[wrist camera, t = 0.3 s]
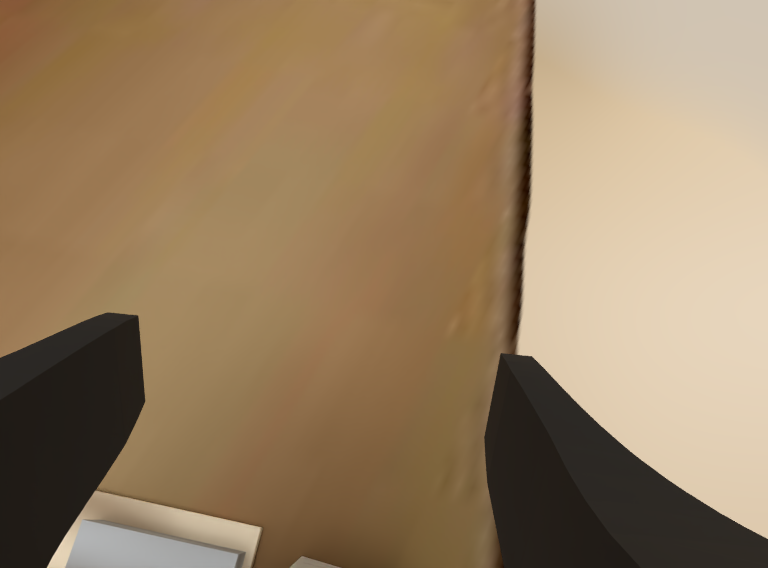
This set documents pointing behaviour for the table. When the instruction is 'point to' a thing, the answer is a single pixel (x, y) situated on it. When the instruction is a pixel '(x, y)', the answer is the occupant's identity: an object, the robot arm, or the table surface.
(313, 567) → the supplement box
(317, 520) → the table surface
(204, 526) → the base board
